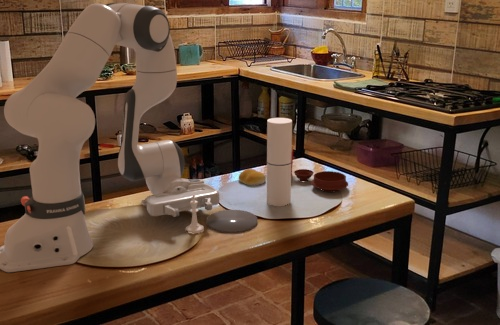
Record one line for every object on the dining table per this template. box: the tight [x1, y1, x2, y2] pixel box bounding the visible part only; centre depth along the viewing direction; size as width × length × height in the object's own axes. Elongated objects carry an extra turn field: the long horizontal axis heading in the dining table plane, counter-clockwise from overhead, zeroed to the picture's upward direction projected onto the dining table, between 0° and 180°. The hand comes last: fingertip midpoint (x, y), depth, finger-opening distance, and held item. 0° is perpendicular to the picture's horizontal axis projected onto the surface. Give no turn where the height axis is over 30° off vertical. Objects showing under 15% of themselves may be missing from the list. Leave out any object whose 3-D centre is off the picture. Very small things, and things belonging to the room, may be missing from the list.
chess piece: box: [185, 195, 205, 234], centre depth 149 cm, size 5×5×10 cm
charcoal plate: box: [206, 209, 258, 234], centre depth 155 cm, size 14×14×1 cm
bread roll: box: [238, 168, 267, 186], centre depth 187 cm, size 8×9×4 cm
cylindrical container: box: [266, 117, 293, 207], centre depth 166 cm, size 7×7×25 cm
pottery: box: [293, 168, 349, 193], centre depth 183 cm, size 12×20×4 cm, turn 43°
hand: (193, 210), depth 149 cm, fingers open, 8 cm apart
